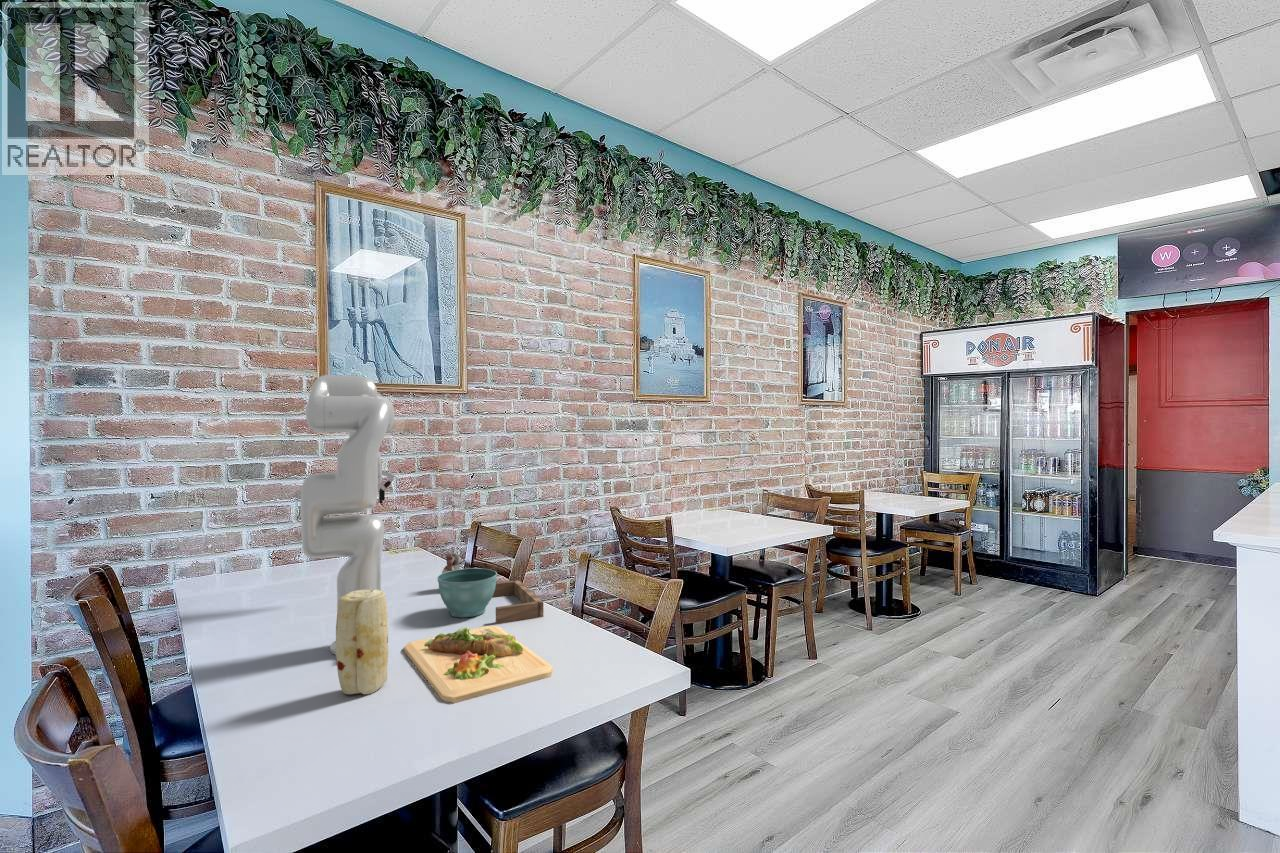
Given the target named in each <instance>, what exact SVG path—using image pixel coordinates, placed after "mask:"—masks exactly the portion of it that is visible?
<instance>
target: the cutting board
mask: <svg viewBox="0 0 1280 853" xmlns="http://www.w3.org/2000/svg"><path fill="white" fill-rule="evenodd" d="M403 648H404V649H403V651H404V653H405V654H406V655H407V656H408V658H409V659H410V660H411V662H412V663H413V664H414V666H415V667H416V668H417V670H418V671H419V670H420V671H419V672H420V673H421V674H422V676H423V675H424V676H425V677H424V676H423V677H424V678H425V679H426V681H427V680H428V681H427V682H428V683H429V685H430V684H431V685H430V686H431V687H432V689H433V690H434V691H435V692H436V694H438V696H439V698H441V700H442V701H444V702H446V703H447V702H448V703H453V704H457V703H459V702H463V701H466V700H471V699H476V698H478V697H482V696H485V695H488V694H491V693H496V692H501V691H503V690H508V689H510V688H514V687H518V686H521V685H525V684H529V683H532V682H536V681H540V680H544V679H547V678H551V677H552V674H553V672H554V668H553V667H554V666H553V665H552V664H550V663H549V662H548V661H546V660H545V659H543V658H542V657H541V656H539V655H538V654H536V653H535V652H534V651H533V650H531V649H530V648H529V647H527V646H526V645H524V644H523V642H522V643H521V641H520V640H517V639H516V637H515V636H514V635H513V634H511V633H508V632H507V631H505V630H504V629H503V628H501V627H500V626H497V625H486V626H482V627H481V626H480V627H476V628H472V629H470V626H468V627H461V628H460V629H458V630H456V631H454V632H452V633H451V632H449V633H447V634H444V633H439V634H437V635H436V636H432V637H428V638H423V639H418V640H414V641H413V640H412V641H409V642H407V643H406V644H405V645H404V647H403Z"/></svg>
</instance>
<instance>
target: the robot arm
mask: <svg viewBox="0 0 1280 853" xmlns="http://www.w3.org/2000/svg"><path fill="white" fill-rule="evenodd" d="M305 409H306V410H305V420H306V423H307V425H308V427H309V428H310V430H312V431H314V432H317V433H348V434H349V436H348V437H349V438H347V439H346V440H345V442H344V443H342V445H341V446H340V448H339V450H338V451H337V453H336V459H337V460H336V462H337V464H336V465H337V471H336V472H318V473H313V474H309V475H308V476H307V477H305V479H304V480H303V482H302V485H301V489H300V524H301V525H300V526H301V531H300V532H301V546H302V547H301V548H302V552H303V554H304V556H306V557H307V558H310V559H327V558H339V557H340V558H341V557H345V558H346V557H348V559H347V561H346V562H345V563H344V564H343V565H342V566H341V568H340V569H339V571H338V573H337V576H336V610H337V609H338V601H339V599H340V598H341V597H342V596H344V595H346V594H348V593H350V592H353V591H357V590H380V591H382V583H381V582H382V554H383V553H382V551H383V546H384V540H385V524H384V521H383V520H382V519H381V518H380V517H378V516H377V515H372V514H354V513H362V512H367V511H370V510H372V509H373V508H375V506H376V504H377V501H378V502H379V503H378V504H383V501H385V500H386V499H385V498H386V497H385V494H386V493H385V490H386V489H387V488H388V487H389V486H390V485H391V484H392V482H393V480H394V478H395V475H394V474H391V473H389V472H387V471H384V470H383V469H382V468H383V467H382V459H381V458H382V457H381V454H380V448H381V446H382V443H383V440H384V438H385V436H386V433H387V432H388V431H390V430H391V429H392V428H393V426H394V423H395V408H394V405H393V402H392V401H391V400H389V399H388V398H386V397H384V396H382V395H378V389H377V386H376V384H375V383H374V381H373V380H372V379H370V378H368V377H365V376H362V375H361V376H360V375H340V374H339V375H338V374H337V375H335V374H334V375H333V374H324V375H320V376H319V377H317V378H316V380H314V382H313V383H312V386H311V388H310V392H309V395H308V400H307V403H306V408H305ZM383 476H384V477H387V478H388V479H387V481H385V483H384V484H383V483H382V481H383ZM378 488H379V489H378ZM350 513H351V514H350ZM352 513H353V514H352ZM332 514H333V515H334V516H327V515H332ZM335 514H336V516H335ZM337 514H345V515H339V516H337ZM346 514H347V515H346ZM348 514H349V515H348ZM329 652H330V653H331V654H332V655H335V656H336V640H335V641H333V642H332V643H331V644H330V646H329Z"/></svg>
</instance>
